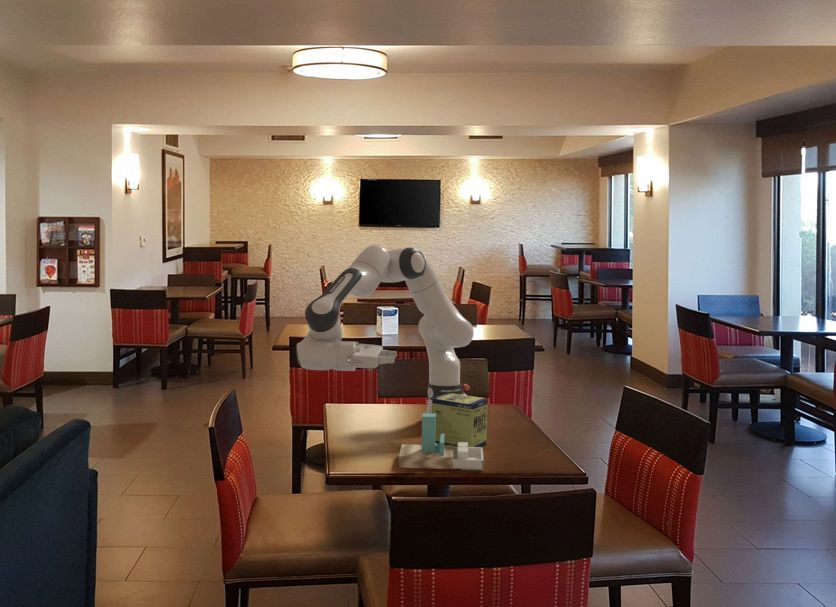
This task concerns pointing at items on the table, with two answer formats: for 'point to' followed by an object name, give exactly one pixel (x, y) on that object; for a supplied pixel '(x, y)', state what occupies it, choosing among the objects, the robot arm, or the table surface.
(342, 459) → the table surface
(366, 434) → the table surface
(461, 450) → the white small block
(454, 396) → the protein box
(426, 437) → the teal uneven u-shaped block
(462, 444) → the tile
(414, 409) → the table surface
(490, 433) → the table surface
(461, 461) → the tray
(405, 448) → the board
